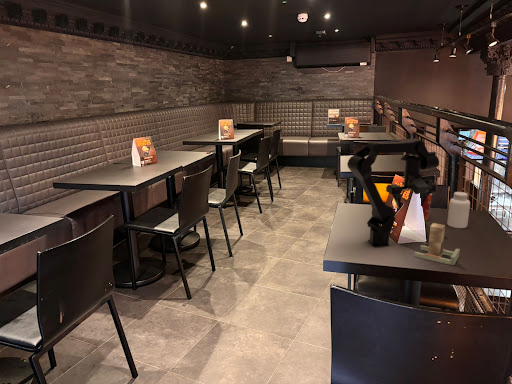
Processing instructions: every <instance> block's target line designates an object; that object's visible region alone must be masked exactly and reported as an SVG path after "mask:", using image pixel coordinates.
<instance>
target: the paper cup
mask: <svg viewBox="0 0 512 384" xmlns="http://www.w3.org/2000/svg"><path fill="white" fill-rule="evenodd" d="M432 196H433V194H430V195H429V196H428V197H427V198H426V200H425V202H424V204H423V206H422V207H423V212H424V218H425V220H424V221H428V220H429V214H430V208H431V203H432Z"/></svg>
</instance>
